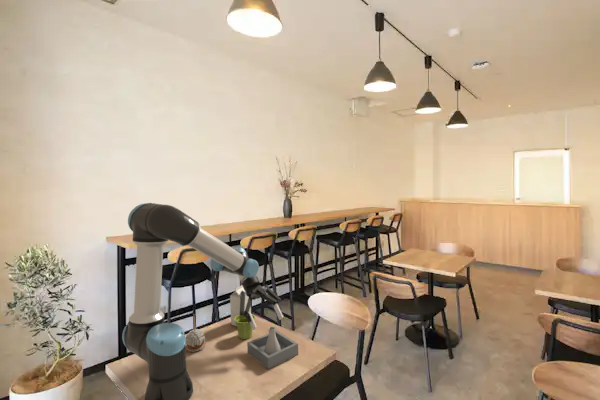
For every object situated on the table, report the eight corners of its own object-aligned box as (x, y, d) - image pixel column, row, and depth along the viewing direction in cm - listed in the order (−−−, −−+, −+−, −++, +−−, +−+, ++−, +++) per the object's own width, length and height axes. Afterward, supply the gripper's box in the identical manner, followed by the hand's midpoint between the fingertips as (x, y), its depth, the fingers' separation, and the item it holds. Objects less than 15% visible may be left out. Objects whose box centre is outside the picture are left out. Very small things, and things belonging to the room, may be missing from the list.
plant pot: (233, 332, 151) (233, 315, 150) (253, 329, 154) (253, 312, 153) (236, 343, 142) (235, 324, 141) (257, 339, 145) (256, 320, 144)
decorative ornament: (209, 345, 140) (207, 312, 139) (195, 354, 134) (193, 320, 132) (196, 341, 144) (194, 309, 143) (182, 349, 137) (180, 316, 136)
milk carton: (231, 324, 159) (229, 287, 157) (240, 318, 165) (238, 282, 163) (242, 328, 155) (241, 289, 154) (251, 321, 162) (250, 285, 160)
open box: (268, 369, 123) (268, 358, 123) (247, 352, 134) (247, 342, 134) (298, 354, 133) (298, 343, 132) (276, 340, 144) (276, 330, 144)
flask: (278, 356, 129) (278, 333, 128) (261, 355, 131) (260, 331, 130) (282, 347, 136) (282, 324, 135) (266, 345, 138) (265, 323, 137)
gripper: (268, 277, 156) (288, 318, 146) (221, 290, 140) (239, 336, 130) (275, 269, 152) (295, 310, 142) (226, 281, 136) (246, 329, 126)
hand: (268, 323), depth 136 cm, fingers open, 13 cm apart
